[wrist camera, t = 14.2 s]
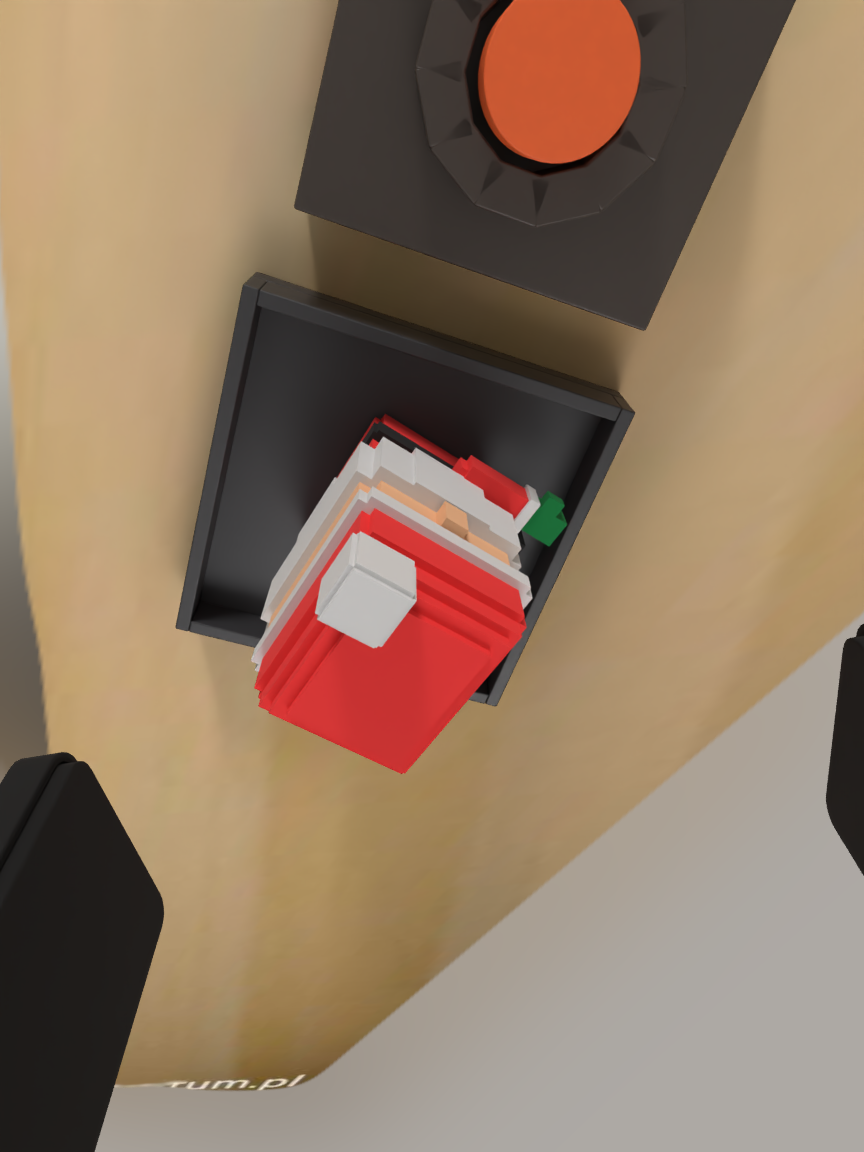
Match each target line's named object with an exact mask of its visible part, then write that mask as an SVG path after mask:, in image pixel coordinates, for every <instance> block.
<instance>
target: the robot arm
mask: <svg viewBox="0 0 864 1152" xmlns="http://www.w3.org/2000/svg"><path fill="white" fill-rule="evenodd" d="M826 804H827V809H828V813H829V816H830V819H831V822H832V824H833V826H834V828H835V829H836V831H837V833H838V835H839V836H840V838H841V839H842V841H843V843H844V844H845V846H846V848H847V849H848V851H849V853H850V854H851V856H852V857H853V859H854V860H855V862H856V864H857V866H858V867H859V869H860V871H861V872H862V874H863V875H864V624H862V625H861V626H860V627H859V629H858V631H857V635H856V637H854V638H849V639H847V640H846V642H845V643H844V648H843V653H842V662H841V671H840V679H839V688H838V697H837V705H836V714H835V724H834V731H833V740H832V749H831V757H830V766H829V775H828V783H827V793H826ZM163 918H164V906H163V901H162V897H161V895H160V893H159V891H158V889H157V887H156V885H155V884H154V882H153V880H152V878H151V876H150V874H149V873H148V871H147V869H146V867H145V865H144V864H143V862H142V860H141V858H140V856H139V855H138V853H137V851H136V849H135V847H134V846H133V844H132V842H131V840H130V838H129V836H128V835H127V833H126V831H125V829H124V827H123V826H122V824H121V822H120V820H119V818H118V817H117V815H116V813H115V811H114V809H113V808H112V806H111V804H110V802H109V800H108V798H107V797H106V795H105V793H104V791H103V789H102V788H101V786H100V784H99V782H98V780H97V779H96V777H95V775H94V773H93V771H92V770H91V768H90V767H89V765H88V764H87V763H85V762H83V761H78V762H77V760H76V759H75V758H74V756H72V755H71V754H69V753H65V752H61V753H55V754H49V755H43V756H36V757H30V758H24V759H20V760H18V761H16V762H15V763H14V764H13V765H12V766H11V768H10V769H9V771H8V772H7V774H6V776H5V777H4V779H3V780H2V782H1V784H0V1152H95V1148H96V1145H97V1142H98V1138H99V1135H100V1132H101V1128H102V1125H103V1122H104V1118H105V1115H106V1112H107V1108H108V1105H109V1102H110V1098H111V1095H112V1092H113V1088H114V1085H115V1082H116V1078H117V1075H118V1072H119V1068H120V1065H121V1062H122V1058H123V1055H124V1052H125V1048H126V1045H127V1042H128V1038H129V1035H130V1032H131V1028H132V1025H133V1022H134V1018H135V1015H136V1012H137V1008H138V1005H139V1002H140V998H141V995H142V992H143V988H144V985H145V982H146V978H147V975H148V972H149V968H150V965H151V962H152V958H153V955H154V952H155V948H156V945H157V942H158V938H159V935H160V932H161V928H162V924H163Z"/></svg>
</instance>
